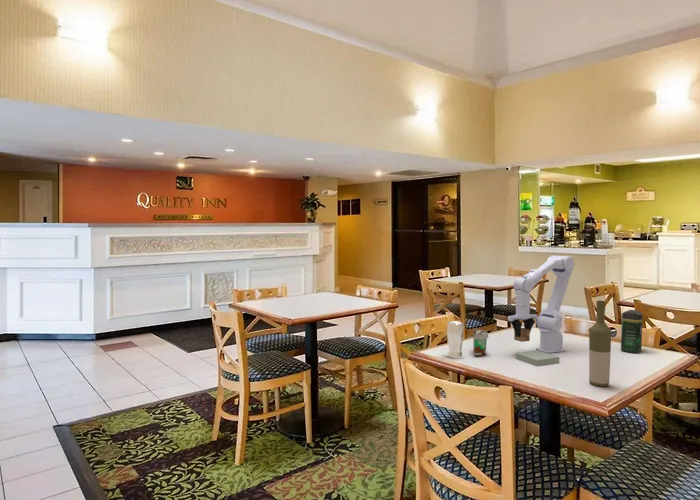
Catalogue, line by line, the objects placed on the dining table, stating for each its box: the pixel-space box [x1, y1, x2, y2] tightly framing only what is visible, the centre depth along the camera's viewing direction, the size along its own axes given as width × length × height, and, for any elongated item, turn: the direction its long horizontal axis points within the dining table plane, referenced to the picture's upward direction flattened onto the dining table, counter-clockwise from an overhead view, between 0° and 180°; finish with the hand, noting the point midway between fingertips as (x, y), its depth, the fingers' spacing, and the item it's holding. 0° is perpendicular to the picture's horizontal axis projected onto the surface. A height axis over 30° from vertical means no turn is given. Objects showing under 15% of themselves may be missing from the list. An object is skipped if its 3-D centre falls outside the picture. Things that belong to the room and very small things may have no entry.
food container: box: [472, 328, 489, 358], centre depth 211 cm, size 12×6×10 cm, turn 168°
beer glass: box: [446, 320, 464, 359], centre depth 206 cm, size 7×7×15 cm
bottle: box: [588, 300, 612, 387], centre depth 169 cm, size 7×7×30 cm
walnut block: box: [513, 327, 531, 342], centre depth 209 cm, size 4×4×5 cm
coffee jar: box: [620, 309, 644, 354], centre depth 215 cm, size 10×8×19 cm
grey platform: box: [515, 349, 560, 367], centre depth 200 cm, size 12×12×3 cm
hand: (522, 336), depth 208 cm, fingers closed on walnut block, 4 cm apart
